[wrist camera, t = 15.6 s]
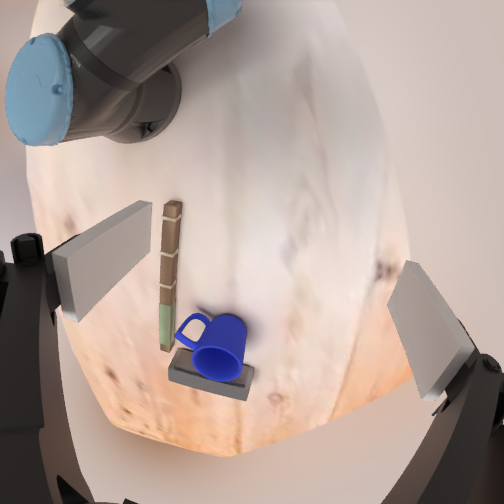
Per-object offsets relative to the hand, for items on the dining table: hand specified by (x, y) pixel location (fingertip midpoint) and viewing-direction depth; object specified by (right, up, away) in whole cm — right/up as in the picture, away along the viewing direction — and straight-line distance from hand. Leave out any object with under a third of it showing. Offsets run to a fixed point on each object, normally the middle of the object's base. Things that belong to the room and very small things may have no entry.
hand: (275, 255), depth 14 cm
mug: (-7, -12, +39) cm, 41 cm away
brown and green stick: (-15, -5, +37) cm, 40 cm away
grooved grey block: (-9, -23, +43) cm, 50 cm away
